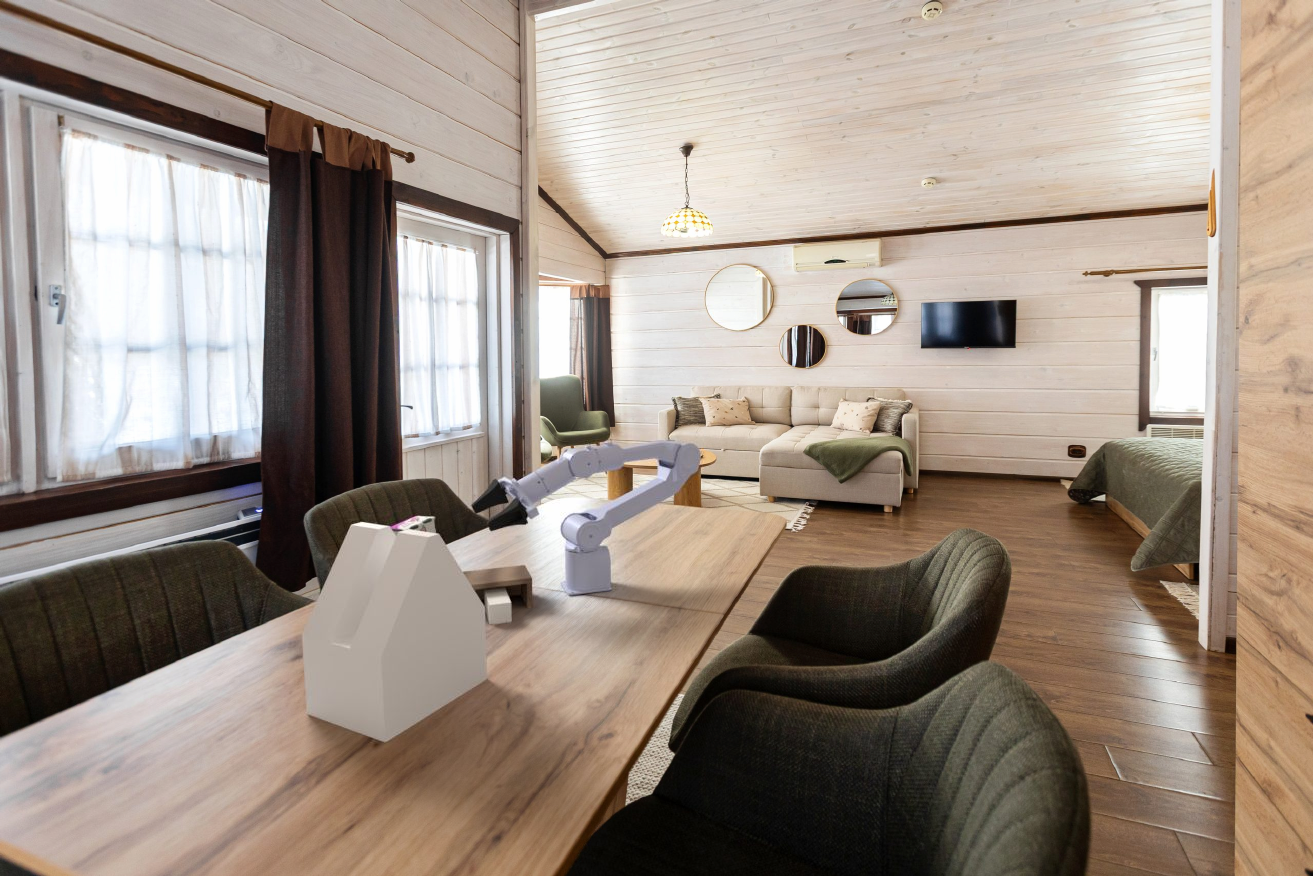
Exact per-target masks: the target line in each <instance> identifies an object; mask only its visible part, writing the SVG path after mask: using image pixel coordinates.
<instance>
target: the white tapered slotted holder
mask: <svg viewBox="0 0 1313 876" xmlns="http://www.w3.org/2000/svg"><path fill="white" fill-rule="evenodd" d="M390 527H391V526H390V525H383V524H377V523H370V522H363V521H360V522H357V523H353V524H351V525H350V526H349V527H348V528H349V529H348V531H347V532H346V534H345V537H344V540H343V541H342V544H341V546H340V548H339V551H338V553H337V555H336V557H335V559H334V562H333V564H332V567H331V568H330V571H329V574H328V575H327V578H326V580H325V582H324V585H323V586H322V589H321V592H320V594H319V595H318V598H317V600H316V602H315V604H314V607H313V609H312V610H311V613H310V616H309V618H308V620H307V623H306V624H305V627H304V629H303V632H302V633H301V641H302V643H301V644H302V657H303V658H302V659H303V672H304V687H305V688H304V689H305V690H304V691H305V704H306V714H307V715H309V716H312V717H314V718H317V719H319V720H323V721H325V722H327V723H330V724H333V725H335V726H339V727H341V728H345V729H346V730H350V731H352V732H356V733H359V734H361V735H364V736H367V737H369V738H372V739H375V740H377V741H380V742H384V743H386V742H388V741H390V740H391V739H393V738H395V737H396V736H398V735H400V734H402V733H403V732H405V731H406V730H408V729H409V728H411V727H412V726H414V725H416V724H417V723H419V722H420V721H422V720H424V719H426V718H427V717H428V716H430V715H432V714H433V713H435V712H437V711H438V710H440V709H441V708H443V707H445V706H447V705H448V704H449V703H451V702H452V701H454V700H456V699H457V698H459V697H460V696H462V695H464V694H466V693H467V692H469V691H470V690H472V689H473V688H475V687H477V686H478V685H480V684H482V683H484V682H485V681H486V680H488V665H487V664H488V661H487V635H486V633H487V632H486V631H487V629H486V626H487V625H486V611H485V604H484V603H483V602H482V600H480V599H479V597H478V595H477V594H476V592H475V591H474V589H473V587H472V586H471V584H470V583H469V581H468V579H467V578H466V576H465V575H464V573H463V572H464V571H463V569H462V568H461V567H460V565H459V563H458V561H457V560H456V559H455V557H454V555H453V554H452V553H451V551H450V548H448V546H447V545H446V542H445V541H444V540H443V538H442V537H441V534H440V533H437V532H436V533H430V532H424V531H417V530H411V529H408V530H404V531H401V532H398V534H397V536H396V535H395V533H394V532H393V531H392V529H391V528H390Z"/></svg>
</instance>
